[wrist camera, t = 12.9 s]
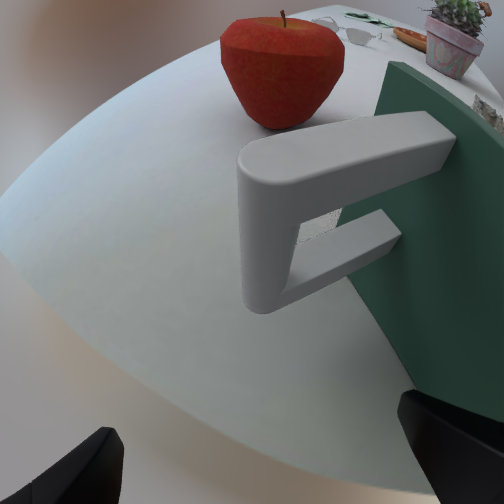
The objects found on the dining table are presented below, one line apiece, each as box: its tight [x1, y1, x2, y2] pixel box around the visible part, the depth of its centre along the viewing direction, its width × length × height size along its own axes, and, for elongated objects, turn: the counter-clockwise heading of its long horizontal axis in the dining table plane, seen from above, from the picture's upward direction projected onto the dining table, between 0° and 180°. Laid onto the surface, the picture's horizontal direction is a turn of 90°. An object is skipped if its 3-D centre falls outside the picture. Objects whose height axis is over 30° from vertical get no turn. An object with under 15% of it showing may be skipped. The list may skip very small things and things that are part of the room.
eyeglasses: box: [311, 17, 382, 45], centre depth 52 cm, size 15×18×4 cm
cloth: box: [343, 12, 395, 28], centre depth 75 cm, size 20×22×2 cm
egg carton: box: [471, 95, 504, 137], centre depth 30 cm, size 11×8×4 cm
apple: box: [220, 10, 345, 130], centre depth 22 cm, size 11×11×12 cm
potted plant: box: [425, 0, 492, 80], centre depth 37 cm, size 18×20×25 cm
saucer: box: [393, 27, 427, 52], centre depth 59 cm, size 23×23×4 cm
